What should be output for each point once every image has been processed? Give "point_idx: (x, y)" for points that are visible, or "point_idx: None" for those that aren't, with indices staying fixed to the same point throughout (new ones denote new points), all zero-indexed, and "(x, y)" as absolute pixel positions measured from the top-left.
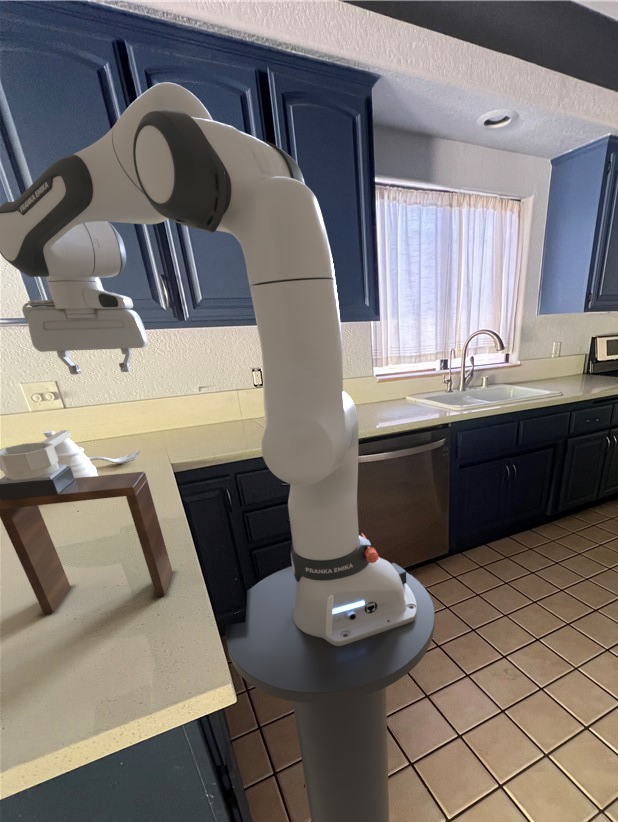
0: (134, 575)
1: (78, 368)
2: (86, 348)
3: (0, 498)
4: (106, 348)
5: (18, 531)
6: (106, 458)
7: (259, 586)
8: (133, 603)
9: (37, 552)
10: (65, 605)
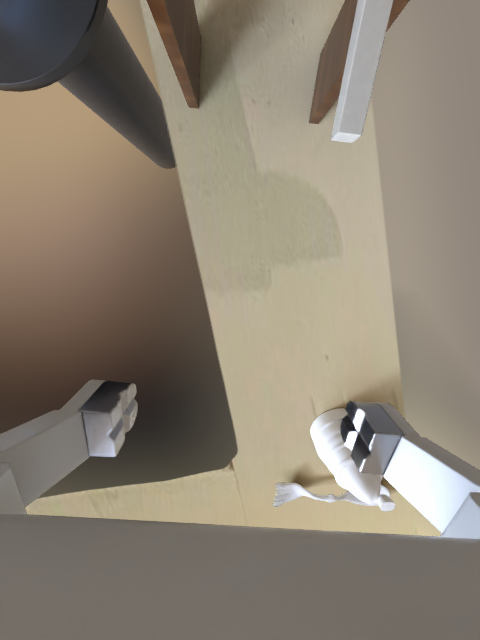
0: (237, 123)
1: (356, 439)
2: (311, 541)
3: None
4: (88, 521)
5: None
6: (310, 495)
7: (72, 31)
8: (227, 31)
9: (350, 9)
10: (309, 70)
